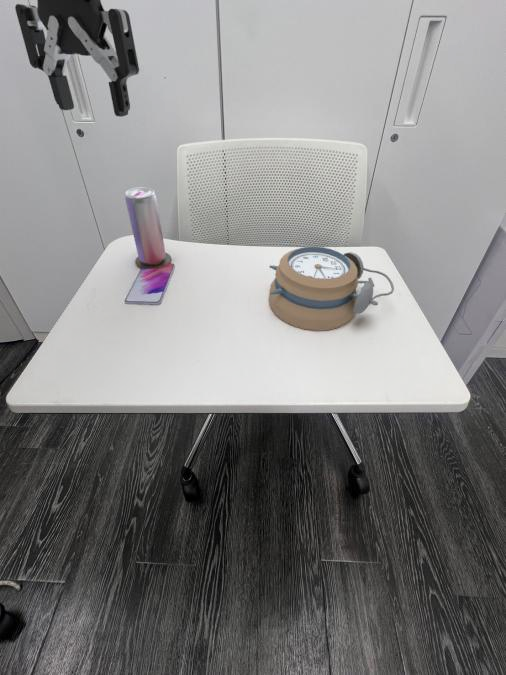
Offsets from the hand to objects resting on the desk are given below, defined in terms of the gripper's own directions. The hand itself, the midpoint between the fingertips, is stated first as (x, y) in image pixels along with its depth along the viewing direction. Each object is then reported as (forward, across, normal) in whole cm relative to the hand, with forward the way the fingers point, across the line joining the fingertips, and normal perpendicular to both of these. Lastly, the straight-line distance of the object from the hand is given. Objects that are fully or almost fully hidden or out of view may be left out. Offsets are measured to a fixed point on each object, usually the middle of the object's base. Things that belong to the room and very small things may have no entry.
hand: (94, 112), depth 47 cm
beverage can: (+30, -4, +14) cm, 34 cm away
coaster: (+31, -4, +14) cm, 34 cm away
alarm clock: (+31, +36, +10) cm, 48 cm away
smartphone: (+32, 0, +6) cm, 32 cm away
